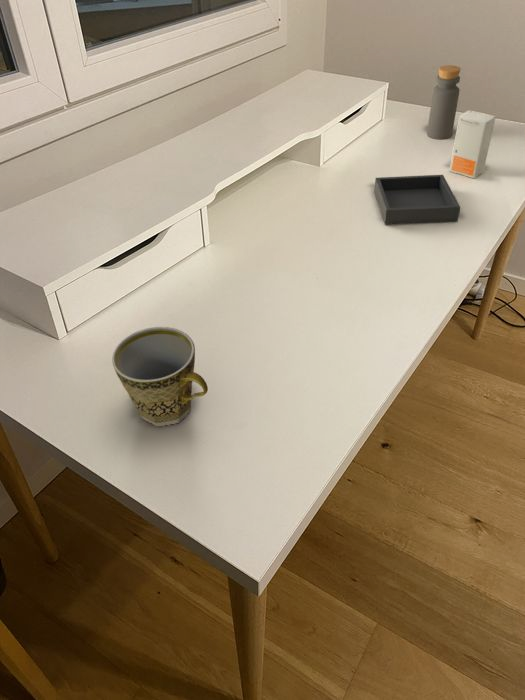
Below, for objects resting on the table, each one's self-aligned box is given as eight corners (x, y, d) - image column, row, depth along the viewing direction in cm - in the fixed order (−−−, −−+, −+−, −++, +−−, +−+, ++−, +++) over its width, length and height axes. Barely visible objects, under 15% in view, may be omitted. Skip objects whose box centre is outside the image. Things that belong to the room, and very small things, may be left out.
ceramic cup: (112, 417, 77) (94, 361, 70) (163, 372, 83) (151, 317, 76) (188, 460, 71) (176, 403, 64) (236, 408, 77) (230, 352, 70)
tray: (440, 188, 120) (443, 174, 118) (457, 221, 110) (460, 206, 108) (374, 191, 120) (375, 177, 118) (384, 225, 110) (386, 210, 108)
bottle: (426, 129, 143) (435, 64, 133) (450, 130, 142) (461, 64, 132) (427, 139, 139) (437, 72, 129) (453, 139, 138) (464, 72, 128)
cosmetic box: (448, 171, 125) (458, 115, 118) (458, 165, 128) (468, 109, 120) (474, 179, 122) (486, 122, 114) (484, 172, 125) (496, 115, 117)
